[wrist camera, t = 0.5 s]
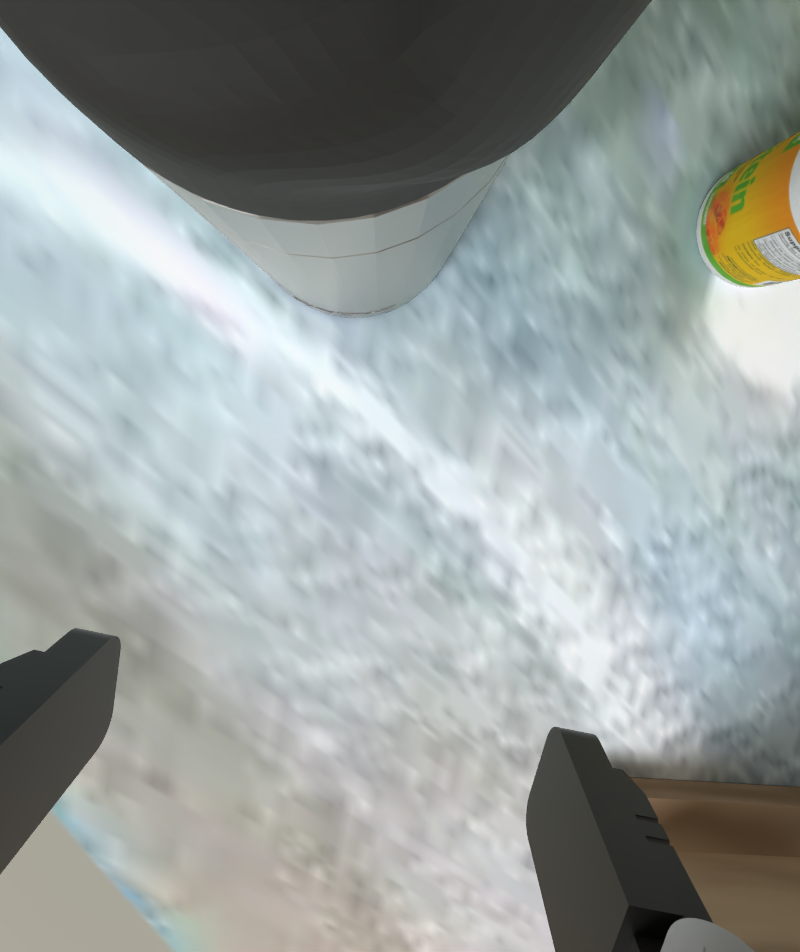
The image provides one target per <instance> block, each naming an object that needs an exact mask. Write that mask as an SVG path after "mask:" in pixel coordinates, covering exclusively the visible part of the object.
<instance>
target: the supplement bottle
mask: <svg viewBox="0 0 800 952" xmlns="http://www.w3.org/2000/svg"><path fill="white" fill-rule="evenodd" d="M697 243H698V248H699V251H700V254H701V256H702V259H703V260H704V262H705V264H706V265H707V266H708V268H709V269H710V270H711V271H712V272H713V273H714V274H715V275H716V276H717V277H718V278H720V279H721V280H723V281H725V282H727V283H729V284H732V285H735V286H739V287H747V288H753V287H763V286H769V285H774V284H778V283H783V282H787V281H792V280H796V279H800V132H798V133H796V134H794V135H793V136H791V137H789V138H788V139H786V140H784V141H782V142H780V143H779V144H777V145H775V146H773V147H772V148H770V149H768V150H766V151H764V152H763V153H761V154H759V155H757V156H756V157H754V158H752V159H750V160H749V161H747V162H745V163H743V164H741V165H739V166H738V167H736V168H735V169H733V170H732V171H730V172H728V173H727V174H726V175H724V176H723V177H722V178H721V179H720V180H719V181H718V182H717V183H716V184H715V185H714V186H713V187H712V189H711V190H710V191H709V193H708V195H707V196H706V198H705V200H704V202H703V204H702V206H701V209H700V212H699V216H698V221H697Z"/></svg>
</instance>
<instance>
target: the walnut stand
mask: <svg viewBox="0 0 800 952" xmlns="http://www.w3.org/2000/svg"><path fill="white" fill-rule="evenodd" d="M631 779H632V780H633V781H634V783H635V784H636V785H637V786H638V787H639V788H640V789H641V790H642V791H643V792H644V793H645V794H646V796H647V798H648V800H649V802H650V804H651V806H652V808H653V810H654V811H655V813H656V815H657V817H658V823H659V824H661V825H662V827H663V828H664V830H665V832H666V834H667V836H668V838H669V840H670V846H673V847H674V849H675V851H676V853H677V855H678V857H679V859H680V861H681V863H682V864H683V866H684V868H685V870H686V872H687V874H688V876H689V878H690V880H691V881H692V883H693V885H694V887H695V889H696V891H697V893H698V895H699V897H700V898H701V900H702V902H703V904H704V906H705V908H706V910H707V912H708V914H709V915H710V917H711V919H712V921H713V923H714V924H716V925H718V926H720V927H722V928H724V929H726V930H727V931H729V932H731V933H732V934H734V935H735V936H737V937H738V938H739V939H741V940H742V941H743V942H745V943H746V944H747V945H748V946H749V947H750V948H752V949H753V950H754V951H755V952H800V787H789V786H772V785H754V784H736V783H718V782H700V781H682V780H664V779H646V778H631Z"/></svg>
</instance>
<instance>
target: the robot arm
mask: <svg viewBox="0 0 800 952" xmlns="http://www.w3.org/2000/svg"><path fill="white" fill-rule="evenodd" d="M651 1H652V0H0V27H1V28H2V29H3V31H4V32H5V33H6V34H7V35H8V37H9V38H10V39H11V40H12V41H13V43H14V44H15V45H16V46H17V47H18V48H19V50H20V51H21V52H22V53H23V54H24V56H25V57H26V58H27V59H28V60H29V61H30V62H31V63H32V64H33V65H34V66H35V67H36V68H37V69H38V70H39V71H40V72H41V73H42V75H43V76H44V77H45V78H46V79H47V80H48V81H49V82H50V83H51V84H52V85H53V86H54V87H55V88H56V89H57V90H58V91H59V92H60V93H61V94H62V95H64V96H65V97H66V98H67V99H68V100H69V101H70V102H71V103H72V104H73V105H74V106H75V107H76V108H78V109H79V110H80V111H81V112H82V113H83V114H84V115H86V116H87V117H88V118H89V119H90V120H91V121H92V122H93V123H95V124H96V125H97V126H98V127H99V128H100V129H101V130H103V131H104V132H105V133H106V134H107V135H108V136H109V137H111V138H112V139H113V140H114V141H115V142H116V143H117V144H119V145H120V146H121V147H122V148H124V149H125V150H126V151H127V152H129V153H130V154H131V155H132V156H133V157H135V158H136V159H137V160H138V161H140V162H141V163H142V164H143V165H144V166H145V167H146V168H148V169H149V170H150V171H151V172H152V173H153V174H154V175H156V176H157V177H158V178H159V179H160V180H161V181H162V182H164V183H165V184H166V185H167V186H168V187H169V188H170V189H172V190H173V191H174V192H175V193H176V194H177V195H178V196H180V197H181V198H182V199H183V200H184V201H185V202H186V203H187V204H189V205H190V206H191V207H192V208H193V209H194V210H195V211H197V212H198V213H199V214H200V215H201V216H202V217H204V218H205V219H206V220H207V221H208V222H209V223H210V224H211V225H213V226H214V227H215V228H216V229H217V230H218V231H219V232H220V233H222V234H223V235H224V236H225V237H226V238H227V239H228V240H229V241H231V242H232V243H233V244H234V245H235V246H236V247H237V248H238V249H239V250H241V251H242V252H243V253H244V254H245V255H246V256H247V257H248V258H250V259H251V260H252V261H253V262H254V263H255V264H256V265H257V266H259V267H260V268H261V269H262V270H263V271H264V272H265V273H266V274H268V275H269V276H270V277H271V278H272V279H273V280H274V281H275V282H276V283H278V284H279V285H280V286H281V287H282V288H283V289H285V290H286V291H287V292H288V293H290V294H291V295H292V296H293V297H294V298H295V299H297V300H299V301H301V302H302V303H304V304H305V305H307V306H310V307H312V308H314V309H316V310H319V311H321V312H323V313H326V314H331V315H336V316H341V317H370V316H374V315H379V314H383V313H387V312H390V311H392V310H394V309H396V308H398V307H400V306H402V305H404V304H406V303H408V302H409V301H411V300H412V299H413V298H414V297H416V296H417V295H418V294H420V293H421V292H422V291H423V290H425V289H426V287H427V286H428V285H429V284H430V283H431V281H432V280H433V279H434V278H435V277H436V275H437V274H438V273H439V271H440V270H441V268H442V266H443V265H444V263H445V261H446V260H447V258H448V257H449V255H450V254H451V252H452V250H453V249H454V247H455V245H456V244H457V242H458V240H459V239H460V237H461V235H462V234H463V232H464V230H465V229H466V227H467V225H468V223H469V222H470V220H471V218H472V217H473V215H474V213H475V212H476V210H477V208H478V207H479V205H480V203H481V202H482V200H483V198H484V197H485V195H486V193H487V191H488V190H489V188H490V186H491V185H492V183H493V181H494V180H495V178H496V176H497V175H498V173H499V171H500V170H501V168H502V166H503V164H504V163H505V161H506V159H507V158H508V156H509V154H511V153H512V152H514V151H515V150H516V149H518V148H519V147H521V146H522V145H524V144H525V143H527V142H528V141H529V140H531V139H532V138H533V137H534V136H536V135H537V134H538V133H539V132H540V131H541V130H542V129H543V128H545V127H546V126H547V125H548V124H549V123H550V122H551V121H552V120H553V119H554V118H555V117H556V116H557V115H558V114H559V113H560V112H561V111H562V110H563V109H564V108H565V107H566V106H567V105H568V104H569V103H570V102H571V101H572V99H573V98H574V97H575V96H576V95H577V94H578V92H579V91H580V90H581V89H582V88H583V86H584V85H585V84H586V83H587V82H588V80H589V79H590V78H591V77H592V76H593V74H594V73H595V72H596V71H597V69H598V68H599V67H600V66H601V64H602V63H603V62H604V60H605V59H606V58H607V57H608V55H609V54H610V53H611V51H612V50H613V49H614V48H615V46H616V45H617V44H618V43H619V41H620V40H621V39H622V37H623V36H624V35H625V34H626V32H627V31H628V30H629V28H630V27H631V26H632V25H633V23H634V22H635V21H636V19H637V18H638V17H639V16H640V14H641V13H642V12H643V11H644V9H645V8H646V7H647V5H648V4H649V3H650V2H651ZM120 648H121V643H120V639H119V638H118V637H117V636H112V635H107V634H103V633H98V632H93V631H88V630H83V629H78V628H75V629H72V630H71V631H69V632H68V633H67V634H66V635H65V636H63V637H62V638H61V639H60V640H59V641H57V642H56V643H55V644H54V645H53V646H51V647H50V648H49V649H48V650H47V651H45V652H42V651H37V650H32V651H30V652H28V653H25V654H23V655H20V656H18V657H15V658H13V659H11V660H8V661H6V662H3V663H1V664H0V874H1V873H2V871H3V870H4V869H5V868H6V866H7V865H8V864H9V863H10V861H11V860H12V859H13V857H14V856H15V855H16V854H17V852H18V851H19V850H20V848H21V847H22V846H23V845H24V843H25V842H26V841H27V839H28V838H29V837H30V835H31V834H32V833H33V832H34V830H35V829H36V828H37V826H38V825H39V824H40V823H41V821H42V820H43V819H44V817H45V816H46V815H47V814H48V812H49V811H50V810H51V809H52V807H53V806H54V805H55V803H56V802H57V801H58V800H59V798H60V797H61V796H62V794H63V793H64V792H65V791H66V789H67V788H68V787H69V785H70V784H71V783H72V782H73V780H74V779H75V778H76V776H77V775H78V774H79V773H80V771H81V770H82V769H83V767H84V766H85V765H86V764H87V762H88V761H89V760H90V758H91V757H92V756H93V755H94V753H95V752H96V751H97V749H98V748H99V746H100V745H101V743H102V741H103V739H104V737H105V735H106V732H107V730H108V727H109V724H110V721H111V718H112V713H113V706H114V698H115V690H116V682H117V674H118V666H119V657H120ZM526 827H527V835H528V840H529V844H530V848H531V852H532V857H533V861H534V865H535V869H536V873H537V877H538V881H539V886H540V890H541V894H542V898H543V902H544V906H545V910H546V915H547V919H548V923H549V927H550V931H551V935H552V939H553V943H554V948H555V952H755V951H754V950H753V949H752V948H750V947H749V946H748V945H747V944H746V943H745V942H743V941H742V940H741V939H739V938H738V937H737V936H735V935H734V934H732V933H731V932H729V931H727V930H726V929H724V928H722V927H720V926H718V925H716V924H714V923H713V921H712V919H711V917H710V915H709V914H708V912H707V910H706V908H705V906H704V904H703V902H702V900H701V898H700V897H699V895H698V893H697V891H696V889H695V887H694V885H693V883H692V881H691V880H690V878H689V876H688V874H687V872H686V870H685V868H684V866H683V864H682V863H681V861H680V859H679V857H678V855H677V853H676V851H675V849H674V847H673V846H670V840H669V838H668V836H667V834H666V832H665V830H664V828H663V827H662V825H661V824H659V823H658V817H657V815H656V813H655V811H654V810H653V808H652V806H651V804H650V802H649V800H648V798H647V796H646V794H645V793H644V792H643V791H642V790H641V789H640V788H639V787H638V786H637V785H636V784H635V783H634V781H633V780H632V779H631V778H630V777H629V776H628V775H627V774H626V773H625V772H624V771H623V770H621V769H616V768H612V766H611V764H610V762H609V760H608V758H607V756H606V754H605V751H604V749H603V747H602V745H601V743H600V741H599V739H598V738H597V737H596V736H595V735H594V734H589V733H584V732H579V731H574V730H569V729H564V728H559V727H553V728H552V729H551V730H550V732H549V734H548V736H547V739H546V742H545V746H544V749H543V752H542V756H541V759H540V762H539V765H538V769H537V772H536V775H535V778H534V782H533V785H532V788H531V791H530V795H529V799H528V804H527V813H526Z"/></svg>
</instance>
